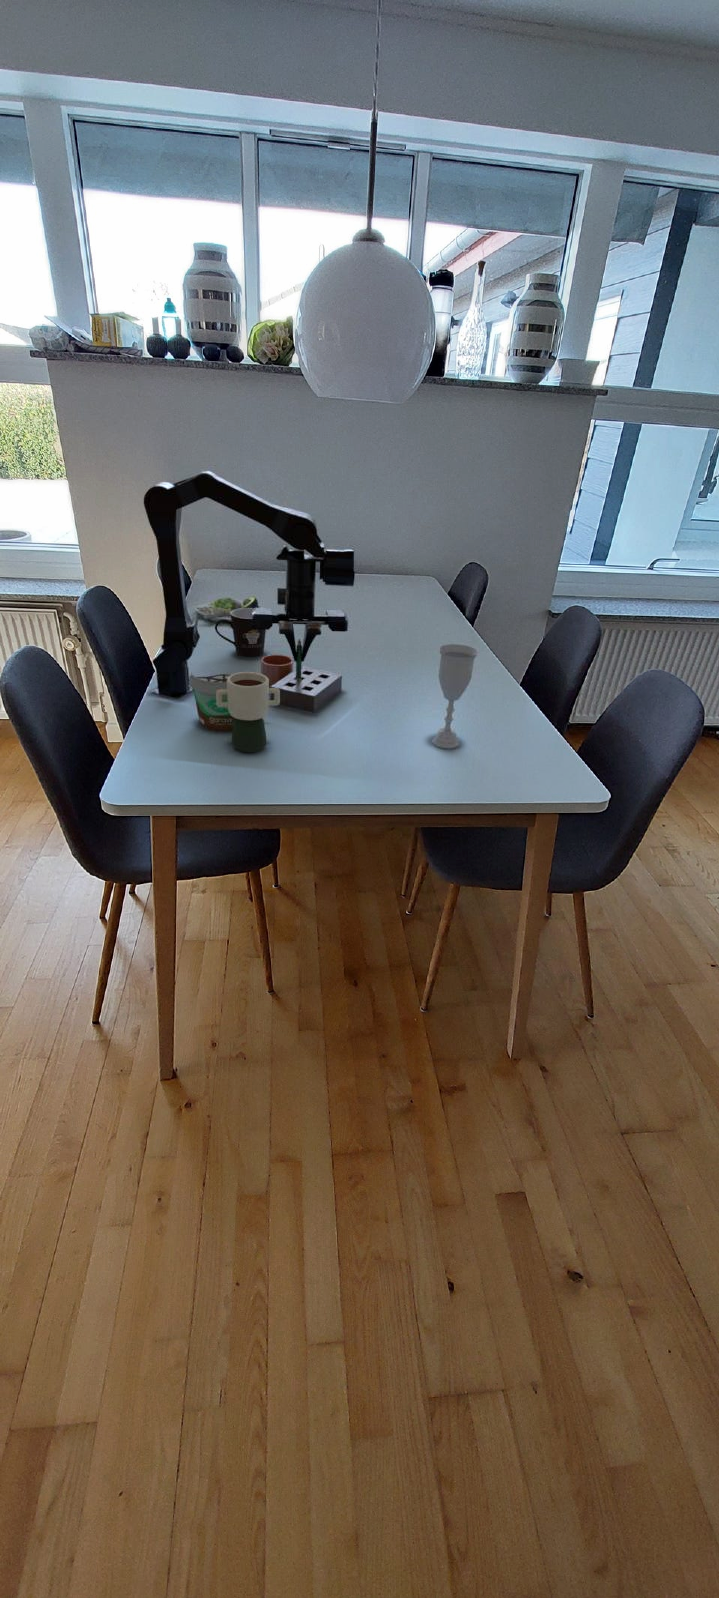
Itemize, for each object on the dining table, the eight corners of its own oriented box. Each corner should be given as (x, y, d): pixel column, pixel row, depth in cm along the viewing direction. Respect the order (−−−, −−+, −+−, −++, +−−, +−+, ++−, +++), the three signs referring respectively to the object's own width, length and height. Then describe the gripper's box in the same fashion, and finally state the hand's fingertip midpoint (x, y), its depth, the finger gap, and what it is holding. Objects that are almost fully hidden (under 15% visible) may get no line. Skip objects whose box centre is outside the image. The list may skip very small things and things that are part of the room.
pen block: (341, 692, 148) (342, 674, 146) (313, 714, 137) (314, 696, 135) (300, 683, 151) (300, 665, 149) (270, 704, 140) (270, 686, 138)
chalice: (441, 730, 135) (453, 641, 125) (470, 742, 131) (485, 651, 122) (419, 742, 130) (431, 650, 120) (450, 754, 126) (463, 660, 117)
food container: (193, 736, 126) (190, 685, 121) (191, 722, 131) (187, 672, 126) (260, 732, 129) (260, 682, 124) (256, 718, 134) (255, 669, 129)
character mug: (276, 737, 128) (277, 670, 121) (282, 754, 122) (282, 685, 115) (217, 739, 125) (214, 672, 118) (219, 757, 119) (216, 687, 113)
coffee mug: (271, 650, 168) (271, 609, 163) (263, 662, 161) (263, 620, 156) (224, 646, 169) (223, 605, 164) (214, 657, 162) (212, 615, 156)
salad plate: (226, 630, 179) (226, 613, 177) (178, 615, 187) (177, 598, 185) (275, 615, 193) (275, 599, 191) (228, 602, 201) (228, 586, 199)
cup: (283, 690, 147) (283, 667, 144) (255, 684, 149) (255, 661, 146) (298, 680, 152) (298, 658, 150) (270, 674, 155) (270, 652, 152)
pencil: (299, 688, 143) (300, 640, 138) (294, 687, 144) (295, 639, 138) (302, 686, 144) (303, 638, 139) (297, 685, 144) (298, 637, 139)
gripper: (343, 575, 141) (339, 648, 149) (251, 571, 138) (253, 647, 146) (350, 589, 132) (345, 667, 140) (251, 586, 129) (253, 665, 137)
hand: (298, 660), depth 141 cm, fingers closed on pencil, 1 cm apart
